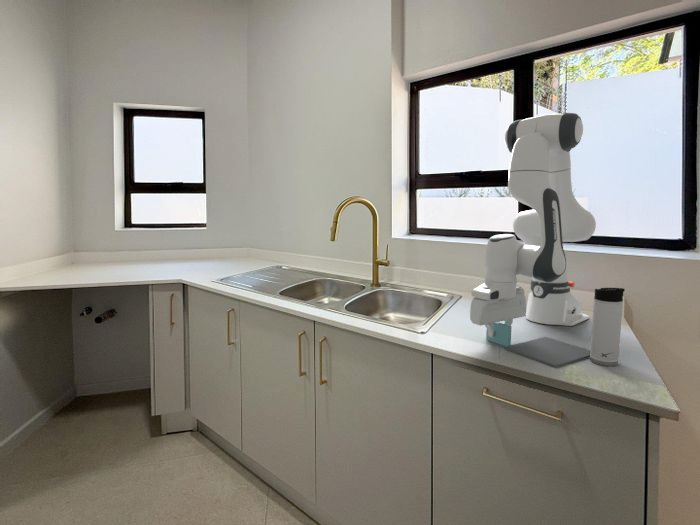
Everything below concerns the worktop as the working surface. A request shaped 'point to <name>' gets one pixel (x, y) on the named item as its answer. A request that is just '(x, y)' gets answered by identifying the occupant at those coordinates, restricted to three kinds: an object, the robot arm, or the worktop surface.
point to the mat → (550, 351)
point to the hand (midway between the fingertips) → (498, 334)
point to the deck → (501, 334)
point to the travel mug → (606, 326)
